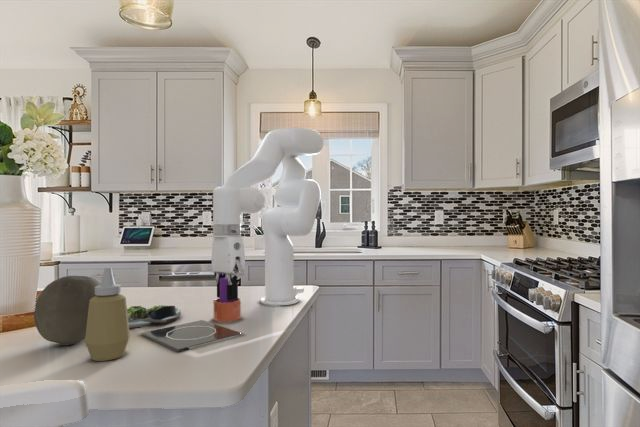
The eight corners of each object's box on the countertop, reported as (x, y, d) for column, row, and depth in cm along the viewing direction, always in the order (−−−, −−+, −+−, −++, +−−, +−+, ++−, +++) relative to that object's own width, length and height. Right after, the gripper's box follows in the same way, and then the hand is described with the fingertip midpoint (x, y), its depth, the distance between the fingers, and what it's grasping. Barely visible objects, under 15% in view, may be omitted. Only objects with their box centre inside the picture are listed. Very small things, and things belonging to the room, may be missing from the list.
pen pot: (230, 315, 115) (230, 296, 115) (246, 319, 110) (246, 299, 110) (208, 320, 109) (208, 300, 109) (223, 325, 104) (223, 303, 104)
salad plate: (91, 333, 97) (91, 314, 97) (111, 316, 114) (111, 299, 115) (175, 327, 102) (175, 309, 102) (182, 311, 119) (182, 296, 119)
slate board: (201, 322, 107) (201, 319, 107) (241, 335, 95) (241, 332, 95) (141, 335, 96) (141, 332, 96) (178, 352, 83) (178, 348, 83)
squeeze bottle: (138, 352, 83) (138, 266, 83) (106, 366, 76) (106, 271, 76) (109, 348, 86) (109, 264, 86) (74, 361, 78) (75, 269, 78)
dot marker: (229, 315, 112) (229, 276, 112) (237, 317, 110) (237, 277, 110) (216, 318, 109) (216, 278, 110) (225, 320, 107) (225, 279, 107)
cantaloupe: (89, 351, 84) (89, 280, 84) (18, 353, 83) (18, 281, 83) (118, 332, 98) (118, 271, 98) (58, 334, 97) (58, 272, 97)
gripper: (256, 231, 107) (257, 300, 107) (221, 230, 118) (222, 292, 118) (233, 232, 101) (233, 304, 101) (199, 231, 113) (199, 296, 113)
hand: (227, 297), depth 110 cm, fingers closed on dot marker, 4 cm apart
